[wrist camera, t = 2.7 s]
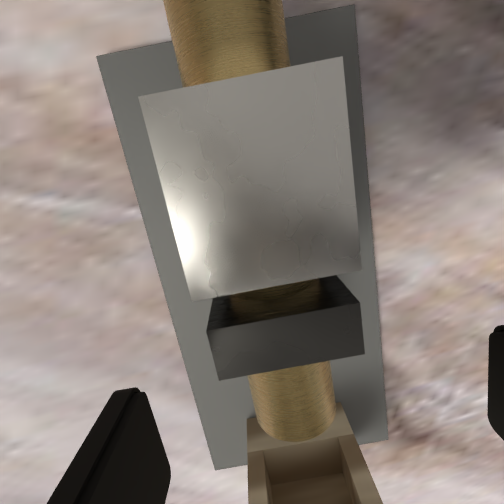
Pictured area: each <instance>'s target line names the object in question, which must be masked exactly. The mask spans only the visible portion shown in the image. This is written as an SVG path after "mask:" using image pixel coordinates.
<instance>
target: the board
mask: <svg viewBox="0 0 504 504" xmlns="http://www.w3.org/2000/svg"><path fill="white" fill-rule="evenodd" d="M284 20H285V28H286V35H287V43H288V50H289V58H290V65H291V66H295V65H300V64H305V63H310V62H316V61H321V60H326V59H331V58H336V57H341V56H343V65H344V76H345V87H346V98H347V110H348V121H349V132H350V143H351V154H352V165H353V176H354V187H355V198H356V209H357V220H358V231H359V242H360V253H361V264H362V270H360V271H354V272H349V273H344V274H338V275H337V276H338V277H339V279H340V280H341V281H342V282H343V283H344V284H345V286H346V287H347V288H348V289H349V290H350V291H351V293H352V294H353V295H354V296H355V297H356V298H357V300H358V301H359V302H360V306H361V317H362V327H363V338H364V348H365V354H363V355H358V356H352V357H347V358H341V359H336V360H330V365H331V373H332V380H333V388H334V395H335V403H338V402H341V405H342V407H343V409H344V412H345V414H346V417H347V419H348V421H349V424H350V426H351V429H352V431H353V433H354V436H355V438H356V441H357V443H358V445H361V444H367V443H372V442H378V441H384V440H388V428H387V415H386V402H385V389H384V376H383V363H382V351H381V338H380V325H379V312H378V299H377V286H376V274H375V261H374V248H373V235H372V222H371V209H370V197H369V184H368V171H367V158H366V145H365V133H364V120H363V107H362V94H361V81H360V68H359V56H358V43H357V30H356V17H355V4H354V5H349V6H344V7H339V8H334V9H329V10H324V11H319V12H314V13H310V14H305V15H300V16H295V17H290V18H285V19H284ZM96 57H97V61H98V64H99V68H100V71H101V75H102V78H103V82H104V85H105V89H106V92H107V96H108V99H109V103H110V106H111V110H112V113H113V117H114V120H115V124H116V127H117V130H118V134H119V137H120V141H121V144H122V148H123V151H124V155H125V158H126V162H127V165H128V169H129V172H130V176H131V179H132V183H133V186H134V190H135V193H136V197H137V200H138V204H139V207H140V211H141V214H142V217H143V221H144V224H145V228H146V231H147V235H148V238H149V242H150V245H151V249H152V252H153V256H154V259H155V263H156V266H157V270H158V273H159V277H160V280H161V284H162V287H163V291H164V294H165V297H166V301H167V304H168V308H169V311H170V315H171V318H172V322H173V325H174V329H175V332H176V336H177V339H178V343H179V346H180V350H181V353H182V357H183V360H184V364H185V367H186V371H187V374H188V377H189V381H190V384H191V388H192V391H193V395H194V398H195V402H196V405H197V409H198V412H199V416H200V419H201V423H202V426H203V430H204V433H205V437H206V440H207V444H208V447H209V451H210V454H211V457H212V461H213V464H214V468H215V470H220V469H226V468H231V467H237V466H242V465H248V459H247V419H249V418H255V417H256V412H255V408H254V404H253V399H252V395H251V390H250V386H249V381H248V377H247V376H243V377H237V378H232V379H226V380H221V381H219V379H218V376H217V372H216V368H215V364H214V360H213V356H212V352H211V348H210V344H209V340H208V336H207V333H206V329H207V325H208V320H209V315H210V310H211V305H212V300H213V298H209V299H204V300H199V301H193V302H192V300H191V296H190V292H189V288H188V285H187V281H186V277H185V273H184V269H183V266H182V262H181V258H180V254H179V250H178V247H177V243H176V239H175V235H174V231H173V227H172V224H171V220H170V216H169V212H168V208H167V205H166V201H165V197H164V193H163V189H162V186H161V182H160V178H159V174H158V170H157V167H156V163H155V159H154V155H153V151H152V147H151V144H150V140H149V136H148V132H147V128H146V125H145V121H144V117H143V113H142V109H141V106H140V102H139V98H138V97H139V96H144V95H149V94H154V93H159V92H164V91H169V90H174V89H179V88H183V87H182V82H181V78H180V73H179V69H178V64H177V60H176V55H175V51H174V46H173V42H172V41H170V42H165V43H160V44H155V45H150V46H145V47H140V48H135V49H130V50H125V51H120V52H115V53H110V54H105V55H100V56H96Z"/></svg>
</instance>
